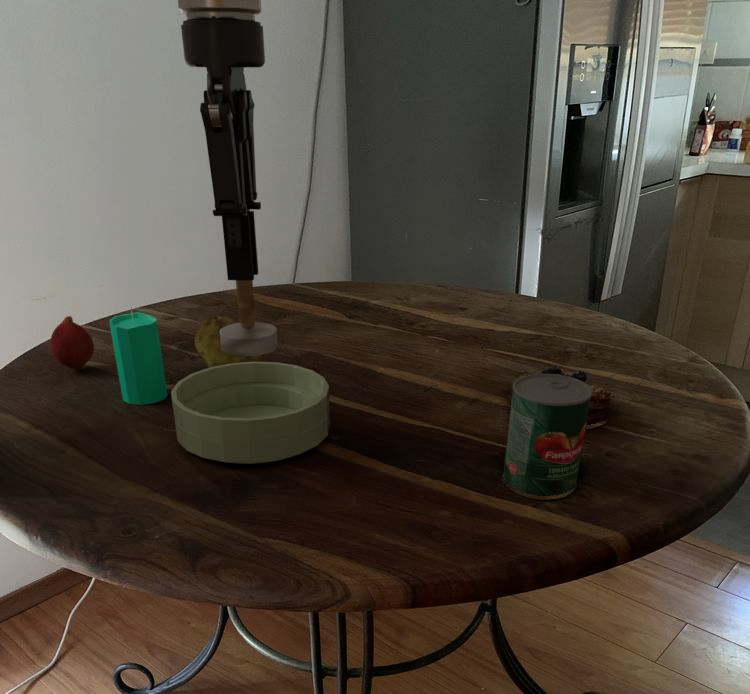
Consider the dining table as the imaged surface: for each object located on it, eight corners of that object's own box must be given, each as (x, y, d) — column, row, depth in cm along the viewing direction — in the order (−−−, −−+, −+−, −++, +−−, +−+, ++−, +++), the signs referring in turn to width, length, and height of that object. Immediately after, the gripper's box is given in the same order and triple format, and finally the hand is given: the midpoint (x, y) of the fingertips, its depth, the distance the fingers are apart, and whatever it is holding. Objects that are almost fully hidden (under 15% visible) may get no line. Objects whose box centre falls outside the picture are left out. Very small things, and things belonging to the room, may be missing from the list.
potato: (210, 396, 100) (204, 339, 96) (194, 365, 110) (188, 312, 106) (270, 388, 102) (266, 332, 98) (249, 359, 113) (244, 307, 109)
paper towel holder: (215, 355, 81) (198, 202, 73) (228, 337, 87) (213, 193, 79) (272, 357, 81) (262, 203, 73) (281, 338, 87) (273, 194, 78)
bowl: (158, 466, 82) (150, 417, 79) (199, 403, 98) (194, 359, 95) (320, 471, 81) (319, 422, 78) (335, 406, 97) (335, 363, 94)
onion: (65, 380, 104) (53, 325, 100) (49, 369, 108) (37, 315, 104) (104, 370, 108) (94, 316, 104) (87, 360, 111) (77, 308, 107)
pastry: (543, 437, 89) (549, 392, 86) (496, 401, 99) (501, 359, 96) (619, 426, 93) (627, 382, 90) (567, 391, 102) (573, 351, 99)
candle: (128, 387, 102) (113, 301, 96) (172, 387, 102) (160, 301, 96) (117, 404, 97) (100, 315, 91) (163, 404, 97) (149, 314, 91)
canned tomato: (558, 508, 75) (574, 409, 69) (489, 486, 79) (499, 390, 73) (587, 478, 81) (604, 384, 75) (521, 459, 84) (532, 368, 79)
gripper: (246, 13, 61) (265, 295, 73) (274, 22, 74) (287, 261, 86) (157, 12, 62) (191, 294, 74) (201, 22, 74) (224, 260, 86)
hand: (243, 276), depth 80 cm, fingers closed on paper towel holder, 2 cm apart
